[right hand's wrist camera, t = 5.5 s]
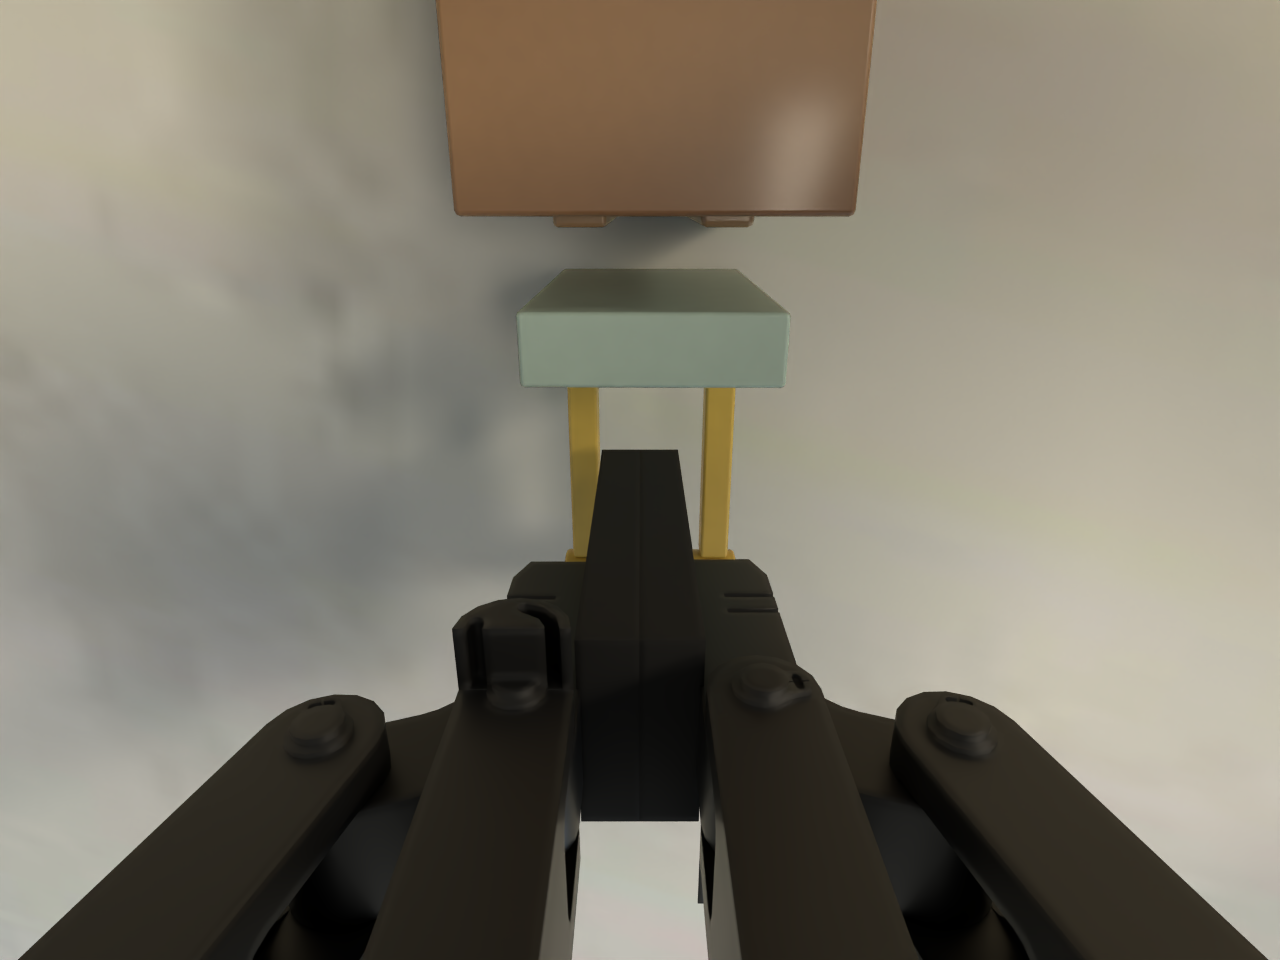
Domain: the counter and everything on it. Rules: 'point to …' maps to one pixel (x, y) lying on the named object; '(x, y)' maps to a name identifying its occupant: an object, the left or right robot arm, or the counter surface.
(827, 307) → the counter surface
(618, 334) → the drawer
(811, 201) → the cabinet
